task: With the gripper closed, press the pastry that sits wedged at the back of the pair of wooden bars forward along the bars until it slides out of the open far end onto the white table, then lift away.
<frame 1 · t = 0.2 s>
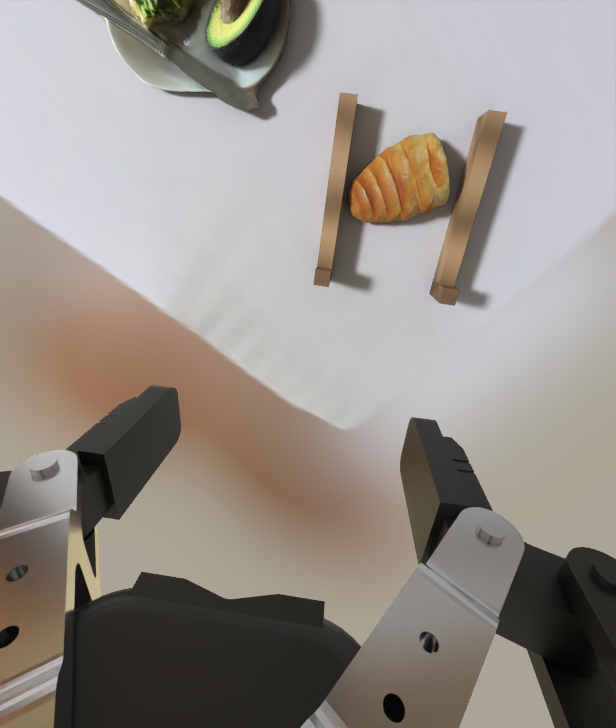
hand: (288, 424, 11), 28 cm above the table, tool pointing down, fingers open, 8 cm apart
pair of wooden bars: (396, 207, 34), on the table
pastry: (401, 186, 33), on the table
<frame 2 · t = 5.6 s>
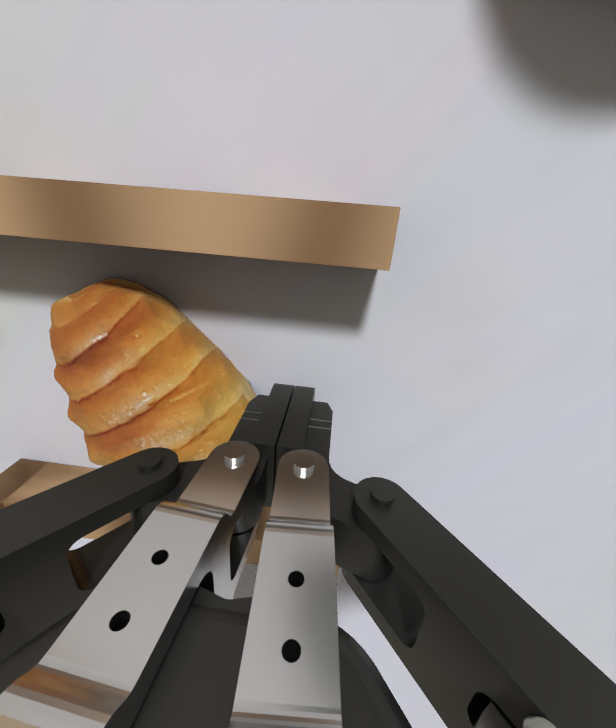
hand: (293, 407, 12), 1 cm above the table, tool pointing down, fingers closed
pair of wooden bars: (164, 379, 14), on the table
pastry: (183, 395, 15), on the table, touching gripper
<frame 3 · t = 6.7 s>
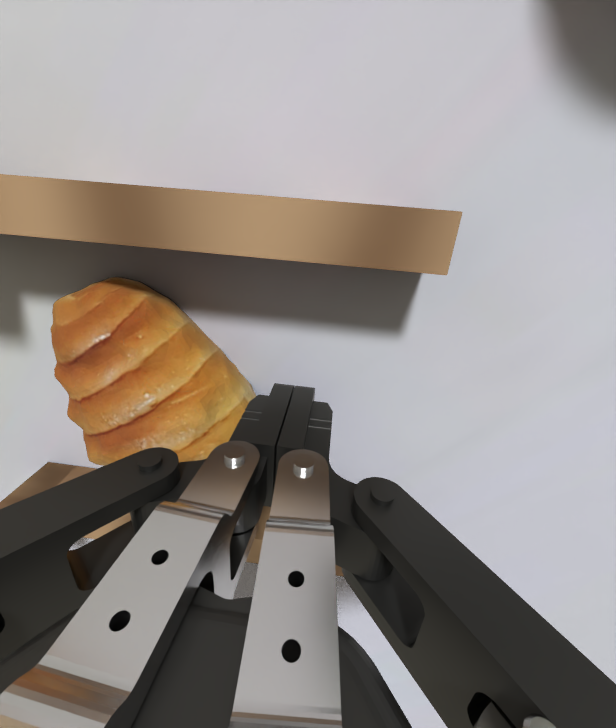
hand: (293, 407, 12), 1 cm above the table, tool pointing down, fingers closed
pair of wooden bars: (198, 382, 14), on the table
pastry: (183, 395, 15), on the table, touching gripper
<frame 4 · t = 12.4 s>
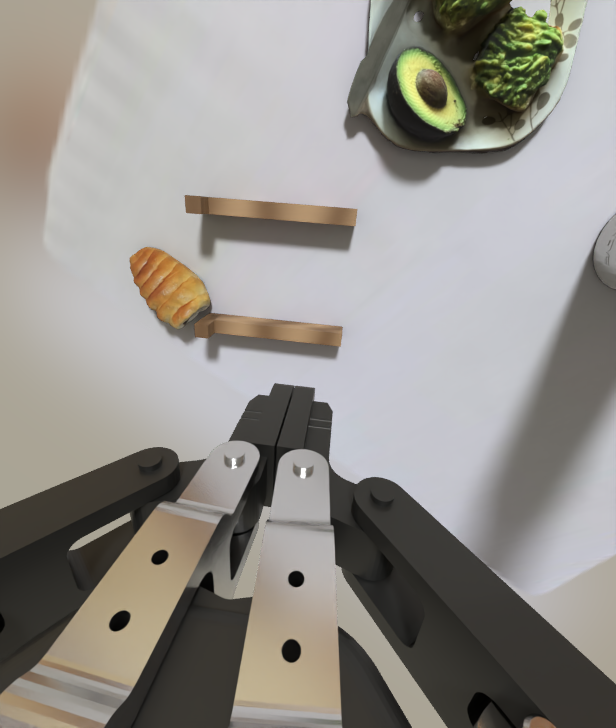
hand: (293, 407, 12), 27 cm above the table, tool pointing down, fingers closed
salad plate: (459, 47, 28), on the table
pair of wooden bars: (276, 272, 37), on the table
pastry: (177, 288, 40), on the table
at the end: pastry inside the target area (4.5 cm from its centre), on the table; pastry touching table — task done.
